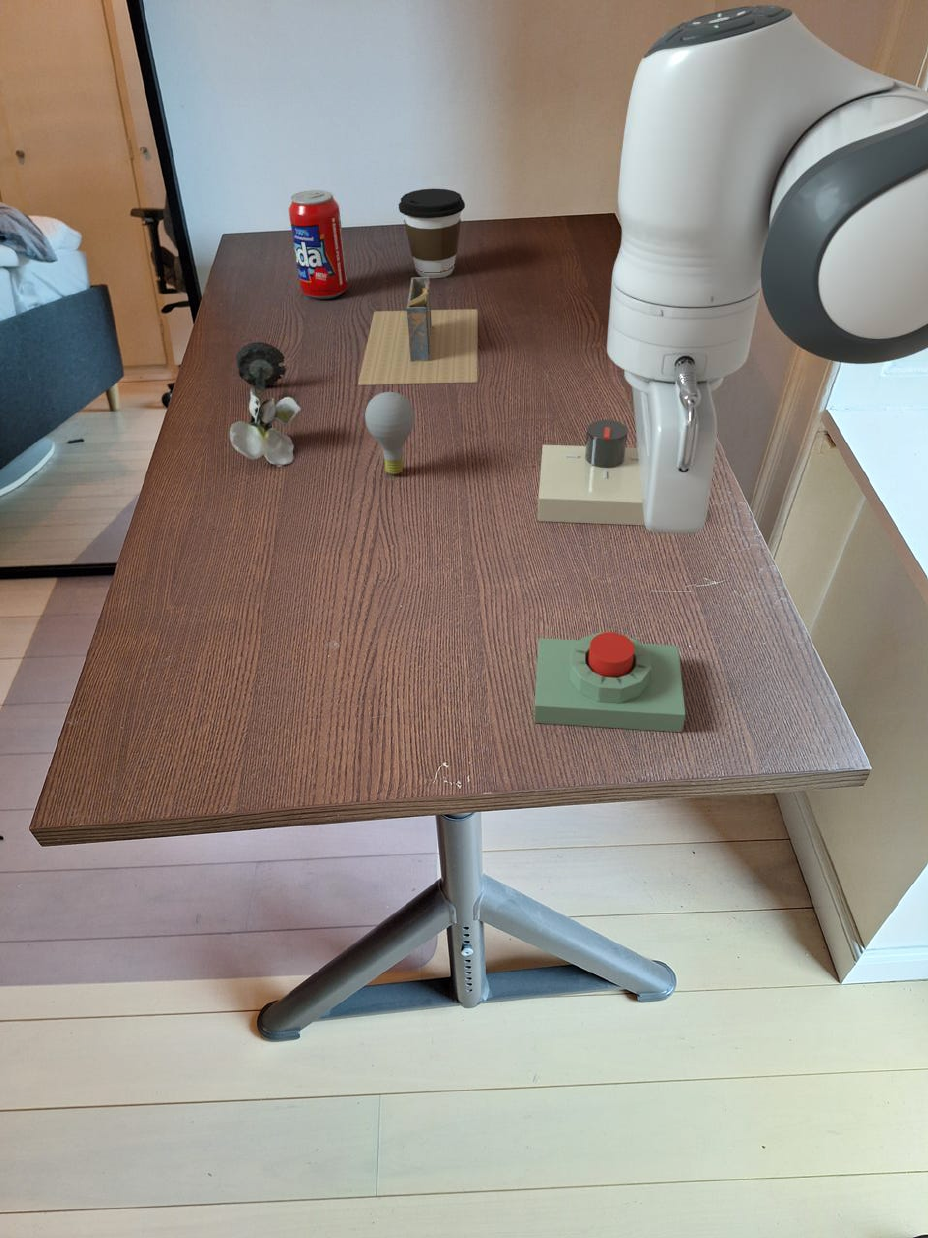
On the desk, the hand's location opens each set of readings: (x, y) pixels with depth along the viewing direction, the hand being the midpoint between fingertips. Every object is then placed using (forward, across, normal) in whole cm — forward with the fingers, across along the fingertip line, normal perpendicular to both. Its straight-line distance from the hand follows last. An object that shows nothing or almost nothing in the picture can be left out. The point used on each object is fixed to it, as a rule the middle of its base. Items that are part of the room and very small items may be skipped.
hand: (655, 509), depth 62 cm
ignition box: (+17, -2, +2) cm, 18 cm away
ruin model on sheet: (+17, +66, +28) cm, 74 cm away
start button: (+14, -2, +2) cm, 14 cm away
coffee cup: (+17, +95, +30) cm, 101 cm away
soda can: (+17, +85, +47) cm, 99 cm away
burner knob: (+14, +31, +2) cm, 34 cm away
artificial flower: (+17, +41, +44) cm, 63 cm away
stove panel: (+17, +28, +2) cm, 33 cm away
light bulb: (+17, +31, +26) cm, 44 cm away
